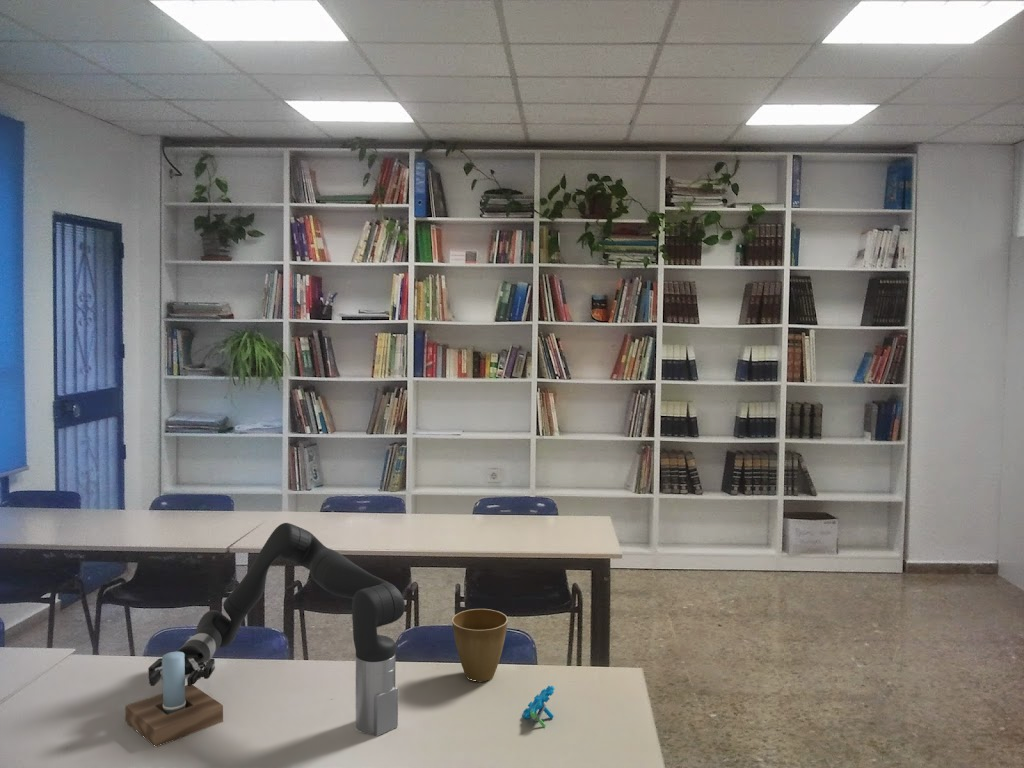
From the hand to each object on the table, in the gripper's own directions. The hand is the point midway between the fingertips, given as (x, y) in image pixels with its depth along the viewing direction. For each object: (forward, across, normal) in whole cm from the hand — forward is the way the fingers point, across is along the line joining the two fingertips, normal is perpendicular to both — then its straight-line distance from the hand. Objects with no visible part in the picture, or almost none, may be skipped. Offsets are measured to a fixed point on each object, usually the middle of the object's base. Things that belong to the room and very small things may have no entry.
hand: (170, 682), depth 188 cm
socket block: (-2, 0, +10) cm, 11 cm away
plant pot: (-27, +71, +11) cm, 77 cm away
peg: (-2, 0, +10) cm, 11 cm away
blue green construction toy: (-4, +86, +11) cm, 87 cm away
